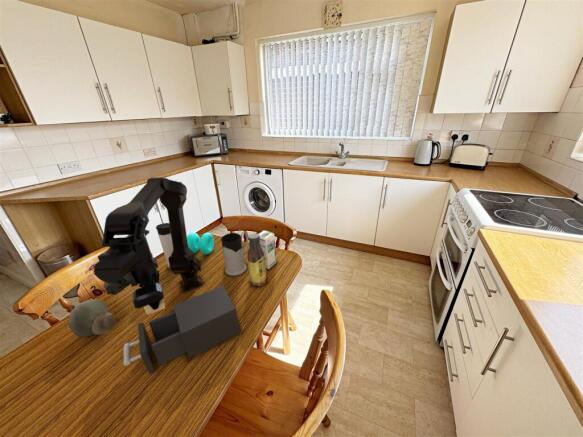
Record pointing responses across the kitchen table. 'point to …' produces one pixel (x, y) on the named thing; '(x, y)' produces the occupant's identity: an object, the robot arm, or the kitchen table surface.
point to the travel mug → (165, 239)
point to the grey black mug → (234, 253)
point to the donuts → (201, 242)
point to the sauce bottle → (256, 261)
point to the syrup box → (268, 248)
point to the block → (161, 306)
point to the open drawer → (158, 342)
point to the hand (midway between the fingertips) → (155, 303)
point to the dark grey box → (206, 320)
